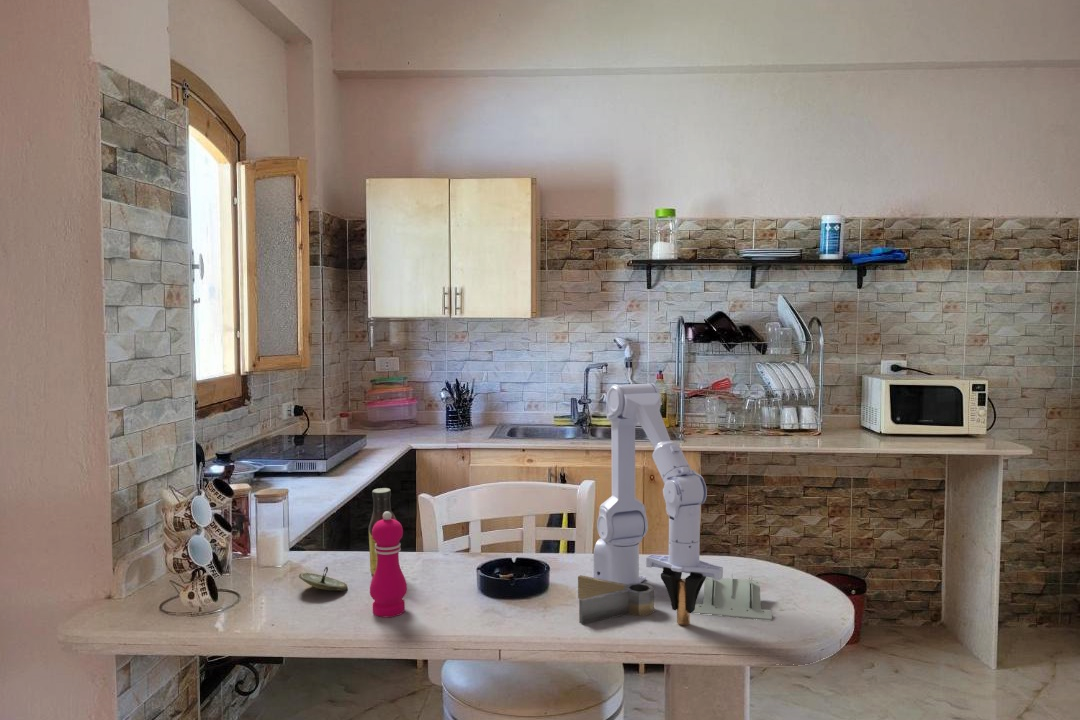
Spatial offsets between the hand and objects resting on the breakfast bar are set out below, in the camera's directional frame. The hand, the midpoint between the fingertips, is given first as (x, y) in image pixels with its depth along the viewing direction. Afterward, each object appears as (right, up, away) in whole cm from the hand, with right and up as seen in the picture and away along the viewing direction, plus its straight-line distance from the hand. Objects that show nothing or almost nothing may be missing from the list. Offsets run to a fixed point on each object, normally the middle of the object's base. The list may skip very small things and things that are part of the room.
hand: (683, 609), depth 151 cm
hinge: (-14, -2, +6) cm, 16 cm away
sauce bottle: (-61, -1, +26) cm, 67 cm away
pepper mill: (-57, -3, +7) cm, 57 cm away
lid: (-73, -2, +18) cm, 75 cm away
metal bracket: (+11, -3, +10) cm, 15 cm away
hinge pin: (0, -2, 0) cm, 2 cm away
